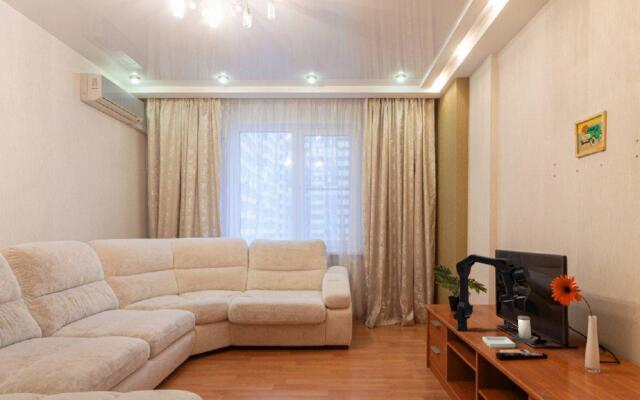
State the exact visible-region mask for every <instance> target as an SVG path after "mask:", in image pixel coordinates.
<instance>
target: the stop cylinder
mask: <svg viewBox="0 0 640 400" xmlns="http://www.w3.org/2000/svg"><path fill="white" fill-rule="evenodd" d="M517 320H518V328H517V329H518V334H519V338H520V339H526V340H531V336H532V334H531V333H532V332H531V317H530V316H527V315H517Z"/></svg>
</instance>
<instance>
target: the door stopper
mask: <svg viewBox="0 0 640 400" xmlns="http://www.w3.org/2000/svg"><path fill="white" fill-rule="evenodd" d="M503 325H504V326H505V327H506V326H507V327H513V328H512V329H518V327H517V326H515V325H513V324H512V323H510V322H508V321H507V320H504V319H503ZM507 327H506V328H507Z"/></svg>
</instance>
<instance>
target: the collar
mask: <svg viewBox="0 0 640 400" xmlns="http://www.w3.org/2000/svg"><path fill="white" fill-rule="evenodd" d="M531 338H532V339H531V340H526V339H520V338H519V333H518V334H515V335H514V336H513V337H512V339H511V341H512V342H513V343H518V344H523V345H526V344H525V343H531V344H532V343H533V342H534V341H535V340H537V339H538V340H539V337H537V336H535V335H534V336H532V335H531Z"/></svg>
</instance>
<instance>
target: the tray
mask: <svg viewBox="0 0 640 400" xmlns="http://www.w3.org/2000/svg"><path fill="white" fill-rule="evenodd" d="M482 342H483V343H484V344H486V346H488V347H489V348H490V349H516V342H512V339H510V338H508V337H507V336H482Z"/></svg>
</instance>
